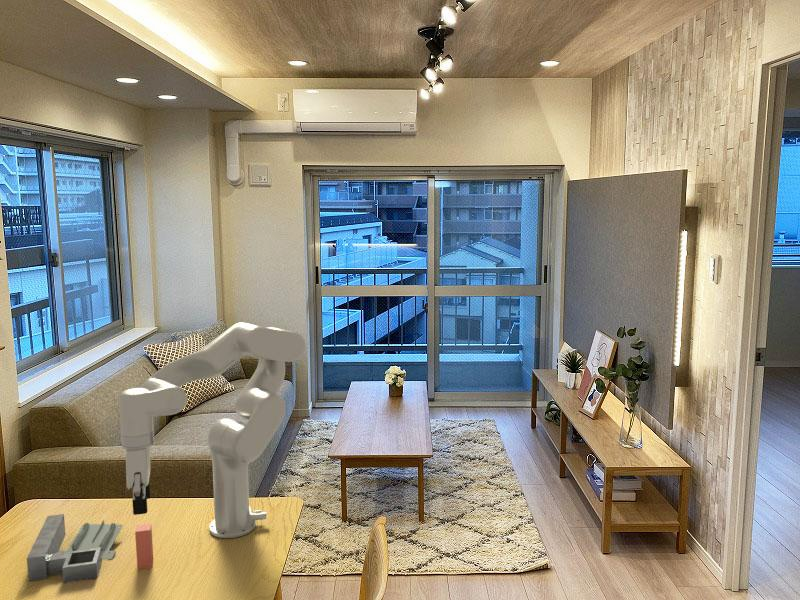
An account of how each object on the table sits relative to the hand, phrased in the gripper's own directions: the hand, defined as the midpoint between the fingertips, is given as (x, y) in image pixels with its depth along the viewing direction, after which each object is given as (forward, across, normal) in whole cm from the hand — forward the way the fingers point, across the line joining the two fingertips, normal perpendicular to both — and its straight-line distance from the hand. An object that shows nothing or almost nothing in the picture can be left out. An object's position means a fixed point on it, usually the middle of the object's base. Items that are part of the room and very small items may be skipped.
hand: (142, 505), depth 162 cm
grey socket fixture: (+16, -9, -19) cm, 26 cm away
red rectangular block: (+16, 0, 0) cm, 16 cm away
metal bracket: (+17, -13, -14) cm, 25 cm away
